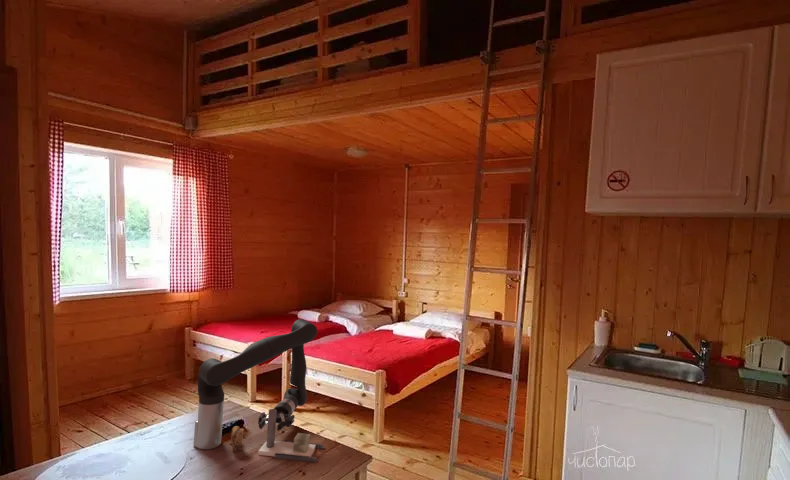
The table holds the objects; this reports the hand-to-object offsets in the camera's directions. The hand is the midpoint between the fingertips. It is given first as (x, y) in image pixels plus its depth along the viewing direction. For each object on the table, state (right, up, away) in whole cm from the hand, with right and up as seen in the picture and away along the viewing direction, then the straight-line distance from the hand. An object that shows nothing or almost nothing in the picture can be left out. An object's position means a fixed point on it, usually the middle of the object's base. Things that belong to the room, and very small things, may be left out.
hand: (269, 427), depth 162 cm
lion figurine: (-14, -9, +3) cm, 17 cm away
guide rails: (+11, -11, +1) cm, 16 cm away
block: (+12, -9, +1) cm, 15 cm away
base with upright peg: (+7, -10, +2) cm, 12 cm away
